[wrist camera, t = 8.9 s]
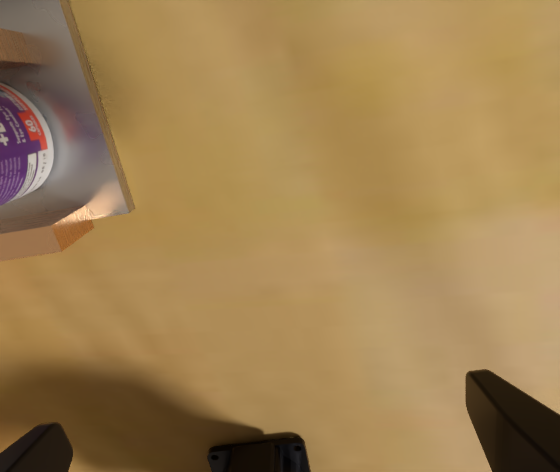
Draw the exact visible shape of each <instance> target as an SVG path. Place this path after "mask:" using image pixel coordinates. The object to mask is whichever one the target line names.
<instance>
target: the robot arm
mask: <svg viewBox="0 0 560 472" xmlns="http://www.w3.org/2000/svg"><path fill="white" fill-rule="evenodd" d="M466 407H467V411H468V414H469V416H470V419H471V421H472V424H473V426H474V428H475V431H476V433H477V436H478V438H479V441H480V443H481V445H482V448H483V450H484V453H485V455H486V458H487V460H488V462H489V465H490V467H491V470H492V472H560V415H559V414H558V413H556V412H555V411H553V410H551V409H550V408H548V407H547V406H545V405H544V404H542V403H540V402H539V401H537V400H536V399H534V398H532V397H531V396H529V395H528V394H526V393H525V392H523V391H521V390H520V389H518V388H517V387H515V386H513V385H512V384H510V383H509V382H507V381H506V380H504V379H502V378H501V377H499V376H498V375H496V374H494V373H493V372H491V371H489V370H487V369H482V370H474V371H469V372H467V374H466ZM72 457H73V449H72V446H71V444H70V442H69V440H68V438H67V436H66V434H65V432H64V430H63V428H62V426H61V424H59V423H57V422H52V423H44V424H40V425H37V426H36V427H34V428H33V429H32V430H30V431H29V432H28V433H26V434H25V435H24V436H22V437H21V438H20V439H18V440H17V441H16V442H15V443H13V444H12V445H11V446H9V447H8V448H7V449H5V450H4V451H3V452H1V453H0V472H68V470H69V467H70V464H71V461H72ZM207 457H208V461H209V464H210V467H211V470H212V472H311V470H310V465H309V460H308V456H307V451H306V446H305V442H304V440H303V439H302V438H287V439H279V440H270V441H261V442H252V443H243V444H235V445H226V446H217V447H212V448H210V449H209V451H208V456H207Z"/></svg>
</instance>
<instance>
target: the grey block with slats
mask: <svg viewBox="0 0 560 472" xmlns="http://www.w3.org/2000/svg"><path fill="white" fill-rule="evenodd" d="M0 83H3V84H5V85H8V86H10V87H12V88H13V89H15V90H17V91H18V92H20V93H21V94H22V95H24V96H25V97H26V98H27V99H28V100H29V101H30V102H31V103H32V104H33V105H34V106H35V107H36V108H37V109H38V110H39V112H40V113H41V114H42V116H43V118H44V119H45V121H46V123H47V125H48V127H49V130H50V133H51V137H52V141H53V148H54V159H53V164H52V168H51V171H50V173H49V175H48V177H47V178H46V180H45V181H44V182H43V183H42V185H41V186H39V187H38V188H37V189H36V190H34V191H33V192H31V193H29V194H27V195H25V196H23V197H21V198H18V199H16V200H13V201H11V202H8V203H6V204H3V205H1V206H0V261H5V260H12V259H18V258H24V257H30V256H37V255H43V254H49V253H55V252H62V251H63V250H64V249H66V248H67V247H68V246H70V245H71V244H73V243H74V242H75V241H77V240H78V239H79V238H81V237H82V236H83V235H85V234H86V233H88V232H89V231H90V230H92V229H93V228H94V226H93V224H92V221H91V219H96V218H102V217H108V216H114V215H120V214H127V213H130V212H131V211H132V210H134V209H135V207H134V204H133V200H132V197H131V194H130V191H129V188H128V185H127V182H126V179H125V176H124V173H123V169H122V166H121V163H120V160H119V157H118V154H117V151H116V148H115V145H114V141H113V138H112V135H111V132H110V129H109V126H108V123H107V120H106V117H105V114H104V110H103V107H102V104H101V101H100V98H99V95H98V92H97V89H96V86H95V82H94V79H93V76H92V73H91V70H90V67H89V64H88V61H87V58H86V54H85V51H84V48H83V45H82V42H81V39H80V36H79V33H78V30H77V27H76V23H75V20H74V17H73V14H72V11H71V8H70V5H69V2H68V0H0Z"/></svg>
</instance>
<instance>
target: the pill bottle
mask: <svg viewBox="0 0 560 472" xmlns="http://www.w3.org/2000/svg"><path fill="white" fill-rule="evenodd" d="M53 159H54V148H53V141H52V137H51V133H50V130H49V127H48V125H47V123H46V121H45V119H44V118H43V116H42V114H41V113H40V112H39V110H38V109H37V108H36V107H35V106H34V105H33V104H32V103H31V102H30V101H29V100H28V99H27V98H26V97H25V96H24V95H22V94H21V93H20V92H18V91H17V90H15V89H13V88H12V87H10V86H8V85H5V84H3V83H0V206H1V205H3V204H6V203H8V202H11V201H13V200H16V199H18V198H21V197H23V196H25V195H27V194H29V193H31V192H33V191H34V190H36V189H37V188H38V187H39V186H41V185H42V183H43V182H44V181H45V180H46V178H47V177H48V175H49V173H50V171H51V168H52V164H53Z"/></svg>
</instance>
